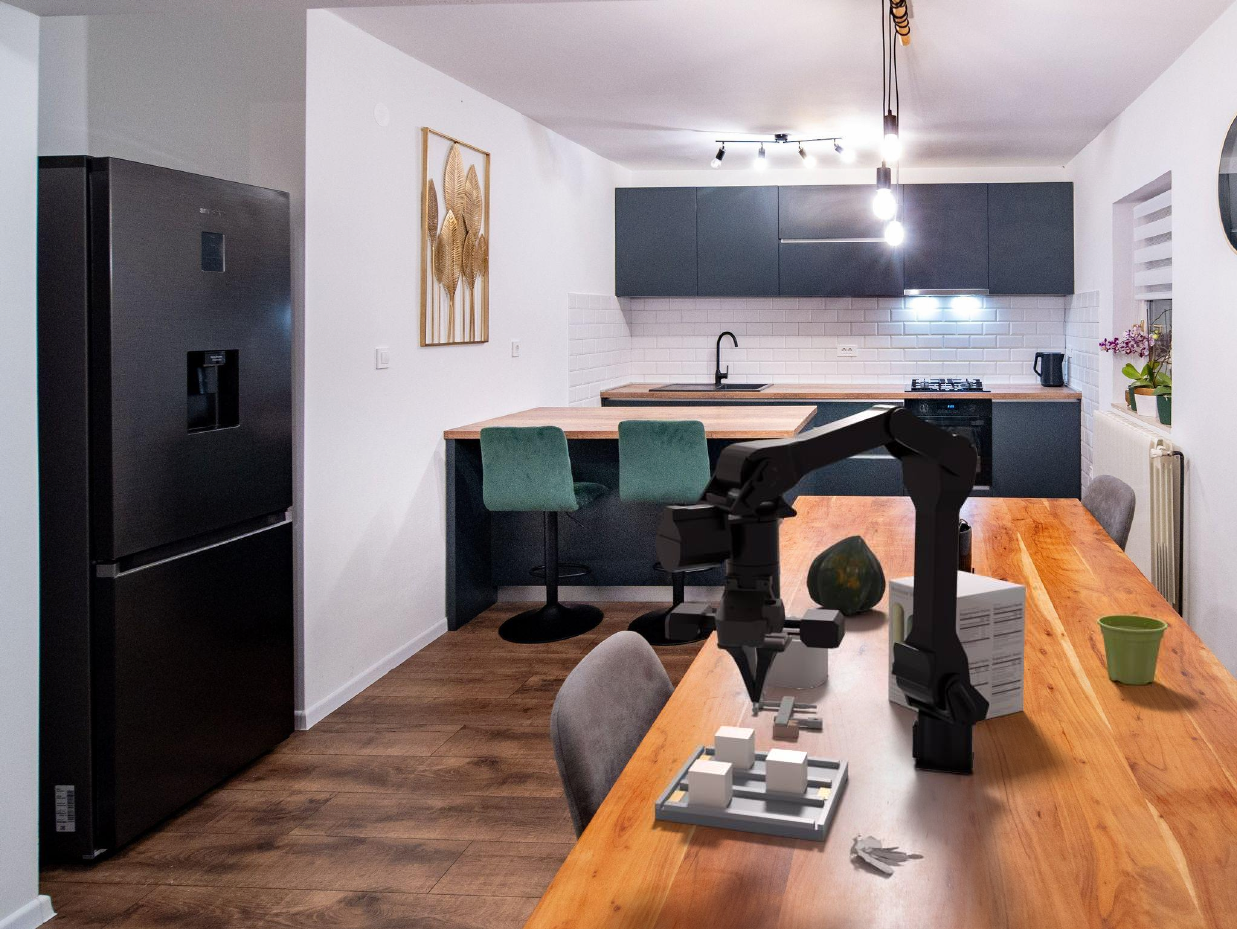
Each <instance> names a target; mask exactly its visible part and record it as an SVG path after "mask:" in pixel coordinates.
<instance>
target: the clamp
mask: <svg viewBox="0 0 1237 929" xmlns="http://www.w3.org/2000/svg"><path fill="white" fill-rule="evenodd" d="M765 696H766V692H765V690H764V691H763V694H762V698H761V700H760V702H759V703H756V702H755V703H752V708H751V711H752V713H754V714H758V713H759V712H760V709H763V708H779V709H778V711H777V714H776V715H774V717H773V723H772V736H774V737H777V736H781V737H782V738H792V737H797V738H799V734H798V733H800V726H802V727H806V728H807V729H820V730H821V729H823V718H822V717H813V716H812V717H809V716H808V717H807V718H805V717H804V718H803V717H802V718H800V717H791V714H792V712H794V710H795V709H796V710H797V709H798V710H808V709H809V710H810V709H813V710H814V709H815V710H817V709H818V706H817V704H809V703H806V702H795V700H796V699H795V696H782V700H781V701H769V700H764V699H763V697H765ZM781 737H780V738H781Z"/></svg>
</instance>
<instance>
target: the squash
mask: <svg viewBox="0 0 1237 929" xmlns="http://www.w3.org/2000/svg"><path fill="white" fill-rule="evenodd" d="M886 583H887V582H886V577H885V573H884V570H883V567H882V565H881V562H880V560H879V559H878V557H877V556H876V554H874V552H873V551H872V550H871V548H870V547H869V546H868V544H867V543H866V541H865V540H864V539H863V538H862V536H861V535H860V534H857V535H852V536H847V537H846V538H843V539H842V540H840V541H838V542H836V543H834V544H833V545H831V546H828V548H826V549H825V550H824V551H822V552H820V553H819V554H818V555H817V556H816V557H814V559H813V560H812V561H811V563H810V566H809V569H808V573H807V577H806V588H807V591H808V594H809V595H808V596H809V598H810V599H811V600H812V601H813V602H814V603H815V604H817V605H819V606H820V607H822V608H823V610H839V611H840V612H841V613H842V614H844V615H846V616H851V615H853V614H856V613H857V612H866V611H869V610H871V609H872V608H874V607H876V606H877V605H878V604H879V603H880V602H881V600H882V599H883V597H884V595H885V592H886V588H887V587H886V586H887V584H886Z"/></svg>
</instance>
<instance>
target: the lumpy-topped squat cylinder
mask: <svg viewBox="0 0 1237 929" xmlns="http://www.w3.org/2000/svg"><path fill="white" fill-rule="evenodd" d="M785 617H794V618H798V617H797V616H795V615H793V614H785ZM755 655H756V666H757V654H756V647H755ZM827 676H829V649H826V648H809V647H807V646H806V645H805V644H804V643H803V642H802V641H801V640H800V636H796V635H792V641H791V642H790V644H789V645H788V647H787V648H786V650H785V651H784V652H781V653H777V655H776V657H775V659H774V661H773V664H772V667H771V670H770V673H769V676H768V679H767V682H766V685H765V686H770V685H772V686H773V687H784V688H788V689H795V688H808V689H812V688H811V687H813V688H816V687H818V686H820V685H821V684H822V683H824V682H825V681H826V680H825V679H827V678H828V677H827ZM824 680H825V681H824ZM823 681H824V682H823ZM819 684H820V685H819ZM817 685H818V686H817ZM790 687H791V688H790Z"/></svg>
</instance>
